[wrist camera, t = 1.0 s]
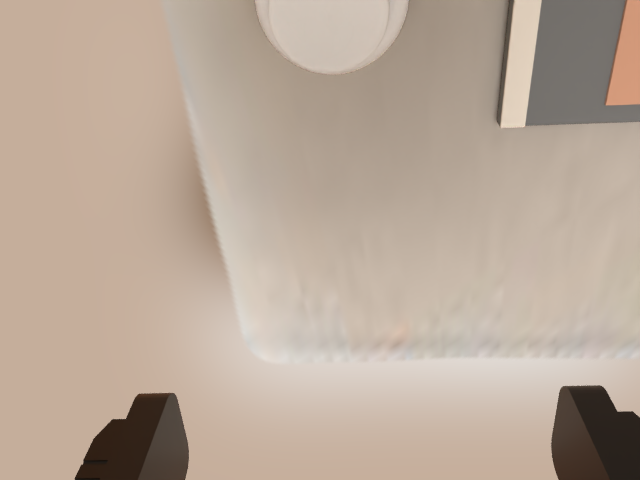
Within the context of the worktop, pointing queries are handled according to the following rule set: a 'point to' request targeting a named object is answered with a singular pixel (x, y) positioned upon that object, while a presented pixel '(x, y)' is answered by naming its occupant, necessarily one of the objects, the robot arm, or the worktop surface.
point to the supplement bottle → (331, 31)
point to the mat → (570, 63)
